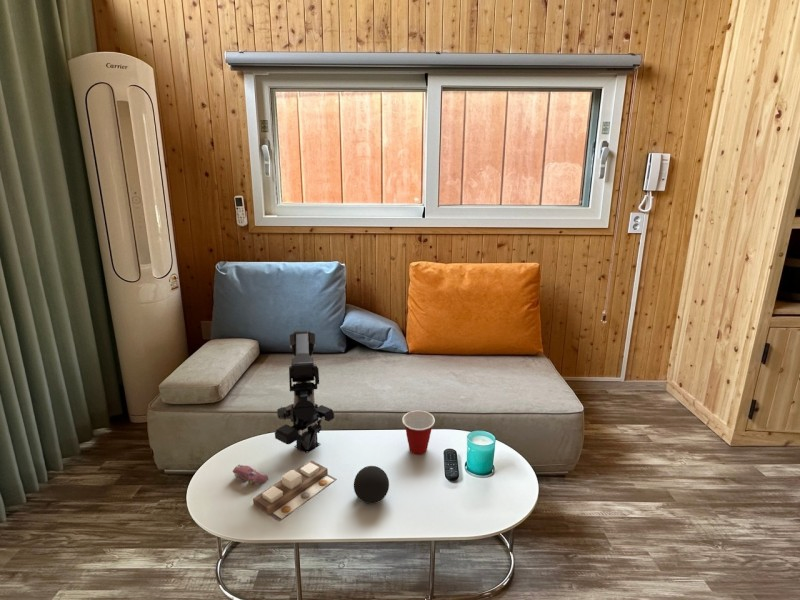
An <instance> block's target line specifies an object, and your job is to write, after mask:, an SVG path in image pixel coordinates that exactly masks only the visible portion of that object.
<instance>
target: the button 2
mask: <svg viewBox="0 0 800 600" xmlns="http://www.w3.org/2000/svg"><path fill="white" fill-rule="evenodd" d="M307 463H308V462H307ZM307 463H306V464H307ZM304 465H305V464H304ZM304 465H303V466H304ZM301 467H302V466H301ZM301 467H299V468H300V473H302V474H304V475H306V476H307V477H309V478H310V477H311V476H313V475H314V474H315V473H317V472H318V471H319V467H318V466H316V465H314V464H312V463H308V464H307V465H305V466H304V467H302V468H301Z"/></svg>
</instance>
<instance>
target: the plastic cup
mask: <svg viewBox="0 0 800 600" xmlns="http://www.w3.org/2000/svg"><path fill="white" fill-rule="evenodd" d="M435 422H436V420H435V417H434V416H433V414H431V413H430V412H428V411H424V410H412V411H408V412H407V413H404V415H403V416H402V424H403V425H404V428H405V434H406V439H407V443H408V449H409V451H410V453H411V454H413V455H417V456H419V455H420V456H421V455H423V454H425V453H426V452H427V450H428V446H429V443H430V438H431V433H432V429H433V426H434V424H435Z"/></svg>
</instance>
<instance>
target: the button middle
mask: <svg viewBox="0 0 800 600" xmlns="http://www.w3.org/2000/svg"><path fill="white" fill-rule="evenodd" d="M281 480H282V485H284V486H285V487H287V488H289V489H290V490H292V489H294V488H295V487H296V486H298V485H299V484H301V483H302V475H301V474H300V473H298V472H296V470H294V469H290V470H288V472H285V473H284V474H283V475H281Z"/></svg>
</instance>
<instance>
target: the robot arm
mask: <svg viewBox="0 0 800 600" xmlns="http://www.w3.org/2000/svg"><path fill="white" fill-rule="evenodd" d="M316 346H317V344H316V333H313V332H310V330H308V329H307V330H303V329H302V330H295V331H294V332H293V333H292V334H289V347H290V349H291V350H292V354H293V355H294V357H293V358H291V365H290V366H289V367H288V377H289V378H288V379H289V381H288V382H289V392H293V403H292V404H289V405H287V406H281V407H279V408H277V409H276V411H277V412H276V413H277V418H278V419H279V420H285V421H286V420H290V422H291V423H293V425H292V426H291V425H288V424H284V425H282V426H280V427H279V428H276V429H275V431H274V439H275V440H278V441H280V442H281V443H283V444H286V445H291V444H293V443H294V442H296V444H295V445H294V448H296V449H297V450H299V451H300V452H303V453H306V454H307V453H308V454H309V453H310V452H312V451H314V450H315V449H316V448H318V447H319V446H321V443H320V442H318V434H319V433H320V432H321V431H322V419H323V418H324V420H325V421H326V422H330V421H332V420H333V419H335V411H334V410H333V409H332V408H330V407H327V406H325V405H323V404H321V405H318V404H317V403H316V402H315V390H318V385H320V373H319V372H320V371H319V367H318V366H317V364H315V363H314V361H315V360H314V357H313V356H312V355H313V353H314V351H315V350H314V348H315V347H316ZM312 381H313V382H312ZM292 383H293V384H292Z"/></svg>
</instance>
